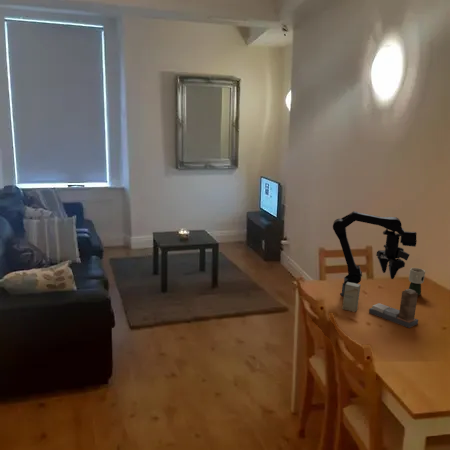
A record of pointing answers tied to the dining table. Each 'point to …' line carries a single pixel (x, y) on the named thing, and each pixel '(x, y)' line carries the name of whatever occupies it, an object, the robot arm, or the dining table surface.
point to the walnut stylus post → (408, 305)
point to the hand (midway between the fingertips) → (388, 275)
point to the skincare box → (351, 296)
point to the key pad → (390, 314)
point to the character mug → (416, 279)
